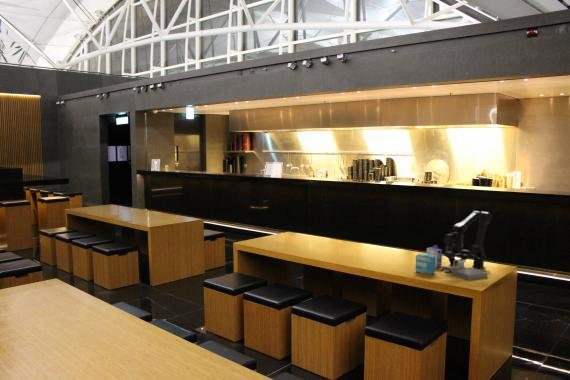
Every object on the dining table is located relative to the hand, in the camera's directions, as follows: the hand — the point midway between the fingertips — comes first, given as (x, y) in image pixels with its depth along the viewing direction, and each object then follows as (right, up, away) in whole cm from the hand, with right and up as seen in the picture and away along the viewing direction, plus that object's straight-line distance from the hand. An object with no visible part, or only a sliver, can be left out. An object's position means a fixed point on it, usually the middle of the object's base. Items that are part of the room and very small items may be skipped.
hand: (456, 265), depth 329 cm
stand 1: (0, -3, 0) cm, 3 cm away
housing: (0, -1, 0) cm, 1 cm away
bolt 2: (-8, -4, -5) cm, 10 cm away
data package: (-24, -4, -6) cm, 25 cm away
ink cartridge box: (-12, -2, +12) cm, 17 cm away
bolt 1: (-11, -3, 0) cm, 11 cm away
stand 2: (+4, -5, -13) cm, 14 cm away
